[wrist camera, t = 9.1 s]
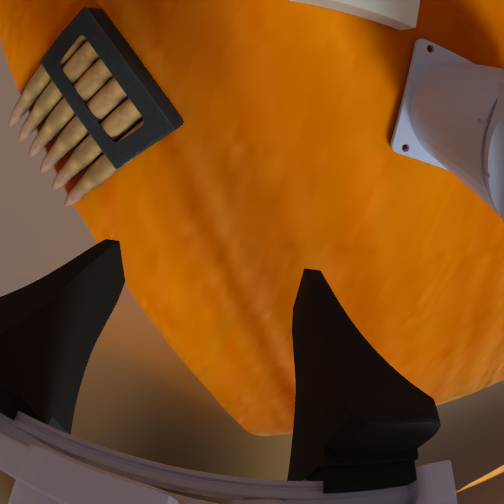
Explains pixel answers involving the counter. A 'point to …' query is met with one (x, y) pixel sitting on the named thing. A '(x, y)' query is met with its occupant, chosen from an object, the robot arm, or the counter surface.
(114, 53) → the ammunition clip
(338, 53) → the counter surface
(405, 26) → the socket block
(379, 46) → the counter surface
